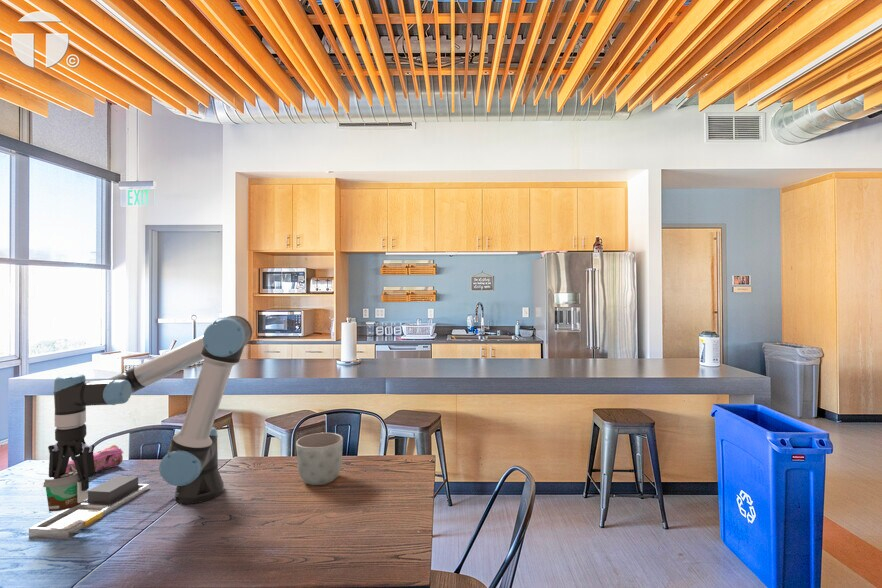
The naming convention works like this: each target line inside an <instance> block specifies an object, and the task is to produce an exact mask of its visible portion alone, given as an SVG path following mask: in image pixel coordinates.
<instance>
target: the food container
mask: <svg viewBox="0 0 882 588" xmlns="http://www.w3.org/2000/svg"><path fill="white" fill-rule="evenodd" d="M84 476H85V475H84ZM78 480H80V479H79V476H78V473H77V470H75V471H72V472H68V473H64V474H62V475H61V476H59V477H57V478H55V479H54V478H53V479H52V478H50V479H46V478H45V479H44V482H43V485H42V487H43V488H45V492H46V499H47V506H48V511H49V512H59V511H60V512H61V511H63V510H66V509H70V508H73V507H75V506H78V505H79V504H81V503H82V502H83V501H82V502H81V503H78V499H77V481H78Z"/></svg>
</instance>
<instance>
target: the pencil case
mask: <svg viewBox="0 0 882 588" xmlns="http://www.w3.org/2000/svg"><path fill="white" fill-rule="evenodd" d="M123 454H124V451H123V450H122V448H119V446H118V445H117V444H114V445H111V446H108V447H107V448H104V449H103V450H102V449H101V450H99V451H96V452H93V456H94V466H95V473H96V472H99V471H103V470H106V469H107V470H108V469H110V468H114V467H117V466H120V465H121V464H122V463H123V459H124V458H123ZM75 470H76V467H75V464H74V461H73V460H72V459H71V460H70V459H69V462H68V465H67V469H66V472H65V473H68V472H72V471H75ZM54 472H55V471H54Z"/></svg>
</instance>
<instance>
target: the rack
mask: <svg viewBox="0 0 882 588" xmlns="http://www.w3.org/2000/svg"><path fill="white" fill-rule="evenodd" d="M149 489H150V484H148V483H138V489H137V490H136V491H134V492H132V493H130V494H129V495H127V496H125V497H123V498H122V499H120V500H118V501H116V502H115V503H113V504H96V503H88V499H86V500H84V501H83V502H82V503H81V504H79V505H78V506H75V507H73V508H70V509H66V510H61V511H60V512H59V511H58V513H56V514H54V515H52V516H50V517H47V518H45V519H44V520H42V521H40V522H38V523H36V524H35V525H33V526H31V527H29V528H28V536H29V538H38V539H39V538H41V539H42V538H43V539H54V540H55V539H57V540H71V539H72V538H73V537H75V536H77V535H79V534H80V532H78V531H80V530H81V529H84V528H86V527H88V526H90V525H91V524H93V523H95V522H96V521H97V522H98V520H100V519H103V516H106V515H107V514H109V513H111V512H112V511H114V510H116V509H117V508H119V507H120V506H122V505H124V504H125V503H128V502H129V501H131V500H132V499H134V498H136V497H137V496H140V495H141V494H142V493H144V492H146V491H147V490H149Z"/></svg>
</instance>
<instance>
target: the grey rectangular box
mask: <svg viewBox="0 0 882 588" xmlns="http://www.w3.org/2000/svg"><path fill="white" fill-rule="evenodd" d="M138 484H139V476H131V475H117V476H115V477H112V478H110V479H108V480H106V481H103V482H102V483H100V484H98V485H96V486H94V487H93V488H91V489H87V492H88V503H96V504H113V503H115V502H116V501H118V500H120V499H122V498H123V497H125V496H127V495H129V494H130V493H132V492H134V491H136V490H137V489H138Z"/></svg>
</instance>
